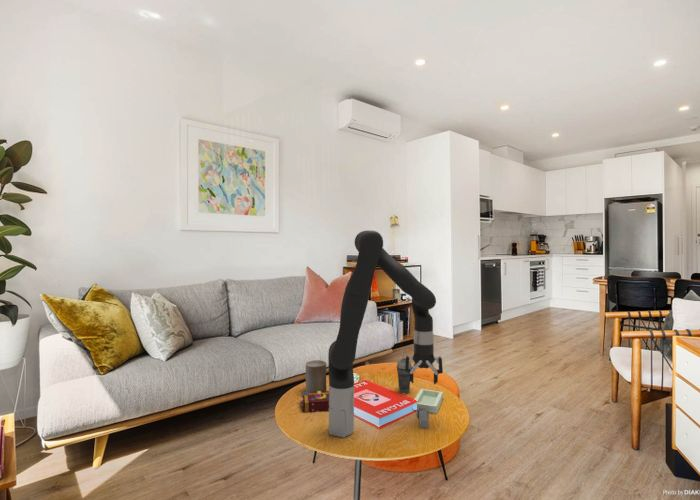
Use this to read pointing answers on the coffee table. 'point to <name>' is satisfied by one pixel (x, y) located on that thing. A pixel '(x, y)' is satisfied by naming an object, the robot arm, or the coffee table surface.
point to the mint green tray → (429, 400)
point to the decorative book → (315, 401)
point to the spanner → (423, 416)
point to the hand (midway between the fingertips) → (423, 383)
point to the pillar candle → (316, 376)
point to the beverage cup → (403, 376)
